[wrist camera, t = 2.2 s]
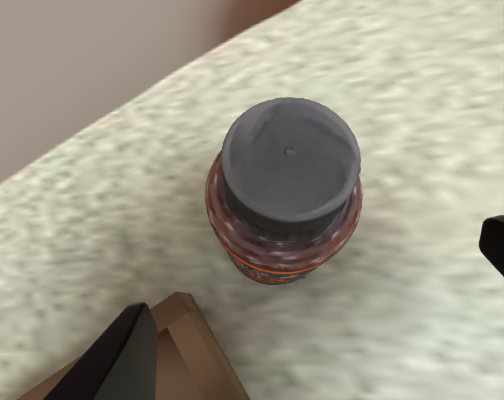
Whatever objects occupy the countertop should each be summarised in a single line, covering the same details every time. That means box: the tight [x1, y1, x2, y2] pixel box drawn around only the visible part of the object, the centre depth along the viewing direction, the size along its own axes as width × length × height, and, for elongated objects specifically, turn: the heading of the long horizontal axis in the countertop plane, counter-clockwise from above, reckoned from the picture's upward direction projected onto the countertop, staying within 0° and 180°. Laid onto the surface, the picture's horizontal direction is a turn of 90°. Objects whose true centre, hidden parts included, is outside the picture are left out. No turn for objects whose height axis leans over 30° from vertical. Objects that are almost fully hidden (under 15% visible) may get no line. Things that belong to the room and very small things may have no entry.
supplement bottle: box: [205, 97, 363, 285], centre depth 13 cm, size 6×6×11 cm
